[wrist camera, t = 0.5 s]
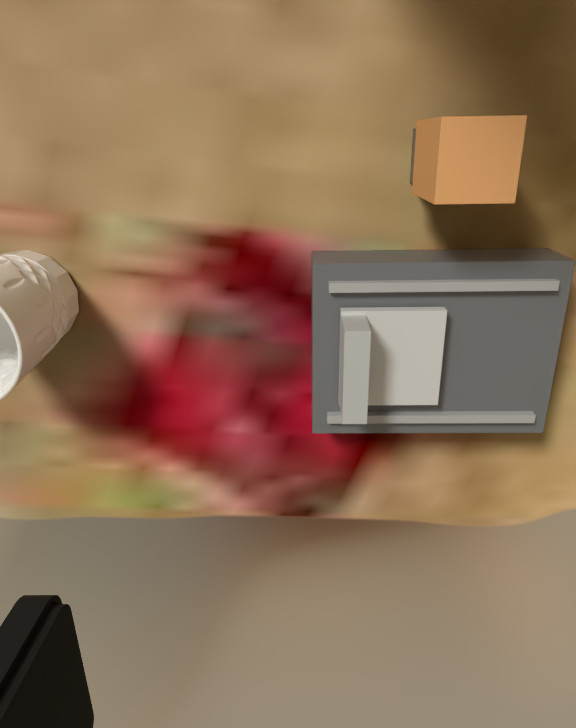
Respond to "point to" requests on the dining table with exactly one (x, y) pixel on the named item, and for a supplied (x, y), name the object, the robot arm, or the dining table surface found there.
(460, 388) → the grey sliding cover box
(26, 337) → the white cup
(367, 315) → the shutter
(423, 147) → the tan rectangular block
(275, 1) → the dining table surface
